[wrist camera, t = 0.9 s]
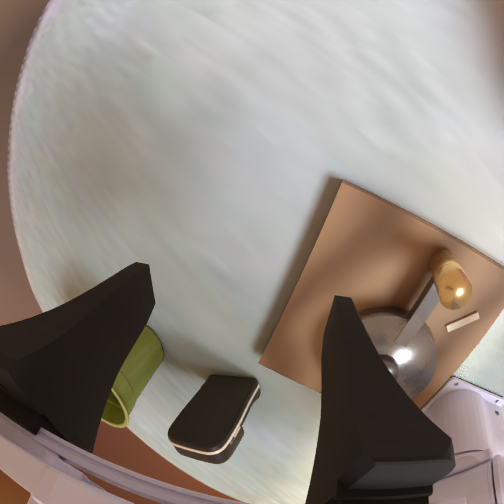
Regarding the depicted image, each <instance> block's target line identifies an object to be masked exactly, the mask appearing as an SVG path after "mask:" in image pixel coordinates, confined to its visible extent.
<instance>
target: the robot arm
mask: <svg viewBox="0 0 504 504" xmlns="http://www.w3.org/2000/svg"><path fill="white" fill-rule="evenodd" d="M154 305H155V298H154V293H153V287H152V281H151V274H150V268H149V264H144V263H138V262H135V263H133V264H131V265H129V266H128V267H126V268H124V269H123V270H121V271H119V272H118V273H116V274H115V275H113V276H111V277H110V278H108V279H107V280H105V281H103V282H102V283H100V284H98V285H97V286H95V287H94V288H92V289H90V290H88V291H87V292H85V293H83V294H81V295H80V296H78V297H76V298H74V299H72V300H71V301H69V302H67V303H65V304H62V305H60V306H58V307H56V308H54V309H52V310H49V311H47V312H44V313H41V314H39V315H37V316H34V317H31V318H28V319H25V320H22V321H18V322H15V323H11V324H7V325H2V326H0V469H1V470H2V471H3V472H4V473H6V474H7V475H8V476H10V477H11V478H12V479H13V480H14V481H15V482H17V483H18V484H19V485H21V486H22V487H23V488H25V489H26V490H27V491H29V492H30V493H31V496H30V498H29V501H28V503H27V504H134V503H132V502H129V501H127V500H124V499H122V498H119V497H117V496H115V495H112V494H110V493H108V492H105V490H104V489H103V488H101V487H100V486H98V485H97V484H95V483H94V482H92V481H91V480H90V479H88V478H87V477H86V476H85V475H84V474H83V473H82V472H80V471H78V470H77V469H75V468H73V467H72V466H70V465H69V464H71V465H73V466H75V467H77V468H79V469H81V470H83V471H85V472H87V473H89V474H91V475H93V476H95V477H97V478H100V479H102V480H104V481H106V482H108V483H110V484H113V485H115V486H118V487H120V488H122V489H125V490H127V491H130V492H132V493H135V494H137V495H140V496H143V497H145V498H148V499H151V500H154V501H157V502H160V503H163V504H249V503H243V502H238V501H233V500H228V499H223V498H219V497H214V496H210V495H206V494H202V493H198V492H194V491H191V490H187V489H184V488H180V487H177V486H174V485H170V484H167V483H164V482H161V481H158V480H155V479H152V478H149V477H147V476H144V475H141V474H138V473H136V472H133V471H130V470H128V469H125V468H123V467H120V466H118V465H116V464H113V463H111V462H108V461H106V460H104V459H102V458H100V457H97V456H95V455H93V454H91V453H92V452H93V448H94V444H95V439H96V436H97V431H98V428H99V424H100V421H101V418H102V415H103V411H104V408H105V405H106V403H107V400H108V397H109V395H110V392H111V389H112V387H113V385H114V382H115V380H116V377H117V375H118V373H119V371H120V369H121V367H122V365H123V363H124V361H125V360H126V358H127V356H128V355H129V353H130V351H131V350H132V348H133V346H134V344H135V343H136V341H137V339H138V338H139V336H140V334H141V333H142V331H143V329H144V328H145V326H146V324H147V322H148V320H149V317H150V315H151V313H152V310H153V308H154ZM456 382H458V383H456ZM503 405H504V398H502V397H500V396H498V395H495V394H493V393H490V392H488V391H486V390H484V389H481V388H479V387H477V386H474V385H472V384H470V383H467V382H465V381H463V380H461V379H458V378H456V377H452V378H450V379H449V380H448V381H447V382H446V383H445V384H444V386H443V387H442V388H441V389H440V390H439V391H438V392H437V393H436V394H435V395H434V396H433V397H432V398H431V399H430V400H429V401H428V402H427V403H426V404H425V405H424V406H423V407H422V408H421V409H419V407H418V406H417V405H416V404H415V403H414V402H413V401H412V399H411V398H410V397H409V396H408V395H407V394H406V392H405V391H404V390H403V389H402V387H401V386H400V385H399V383H398V382H397V381H396V379H395V378H394V377H393V375H392V374H391V372H390V371H389V369H388V368H387V366H386V365H385V363H384V361H383V360H382V358H381V356H380V355H379V353H378V351H377V349H376V348H375V346H374V344H373V342H372V340H371V338H370V336H369V334H368V332H367V331H366V328H365V326H364V324H363V322H362V320H361V318H360V316H359V314H358V311H357V309H356V307H355V304H354V302H353V300H352V298H351V297H344V296H337V295H335V296H334V300H333V303H332V307H331V310H330V314H329V317H328V321H327V324H326V327H325V331H324V334H323V344H322V355H321V420H320V427H319V435H318V442H317V448H316V454H315V460H314V466H313V471H312V476H311V481H310V486H309V490H308V495H307V499H306V503H305V504H504V419H503V415H502V410H501V407H502V406H503ZM65 461H66V462H68V463H69V464H67V463H66V462H65Z"/></svg>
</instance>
